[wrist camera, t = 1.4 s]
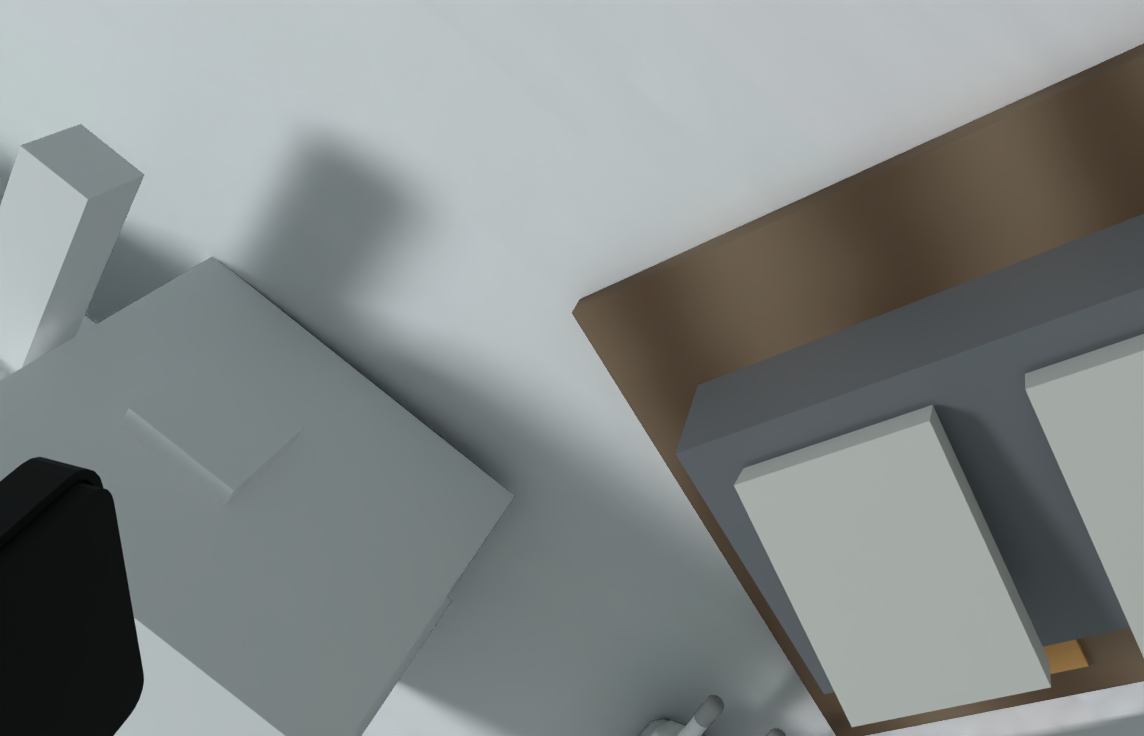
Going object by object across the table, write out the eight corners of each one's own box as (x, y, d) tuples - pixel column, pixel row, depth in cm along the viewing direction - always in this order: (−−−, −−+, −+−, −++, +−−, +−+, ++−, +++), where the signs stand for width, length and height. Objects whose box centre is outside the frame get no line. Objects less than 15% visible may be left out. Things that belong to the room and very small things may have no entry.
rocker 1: (932, 404, 28) (929, 421, 27) (1049, 662, 29) (1051, 687, 28) (743, 468, 31) (734, 485, 30) (857, 702, 32) (852, 727, 31)
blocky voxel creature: (-26, -112, 36) (620, 407, 37) (-149, 364, 50) (325, 735, 50) (-556, -68, 24) (435, 712, 24) (-525, 550, 37) (110, 1037, 38)
